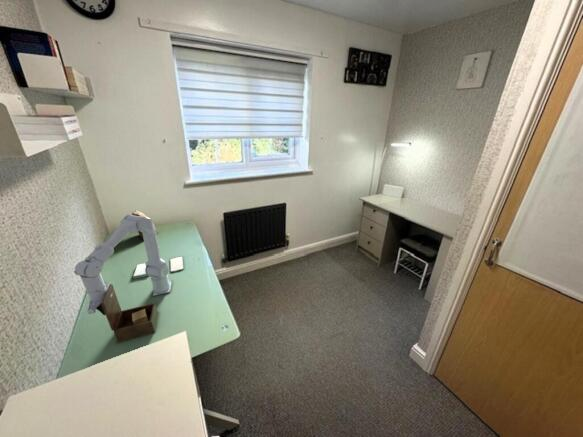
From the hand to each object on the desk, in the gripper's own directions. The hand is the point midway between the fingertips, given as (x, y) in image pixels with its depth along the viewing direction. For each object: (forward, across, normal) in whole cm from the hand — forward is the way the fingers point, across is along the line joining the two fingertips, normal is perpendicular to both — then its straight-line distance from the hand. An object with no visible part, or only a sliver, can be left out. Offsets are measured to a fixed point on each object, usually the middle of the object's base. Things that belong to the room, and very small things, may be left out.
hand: (107, 313), depth 98 cm
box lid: (-4, -1, -4) cm, 6 cm away
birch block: (+9, +1, -11) cm, 14 cm away
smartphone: (+9, +46, -16) cm, 50 cm away
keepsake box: (+9, 0, -10) cm, 14 cm away
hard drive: (+10, +43, +2) cm, 44 cm away
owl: (+10, +91, +13) cm, 92 cm away
